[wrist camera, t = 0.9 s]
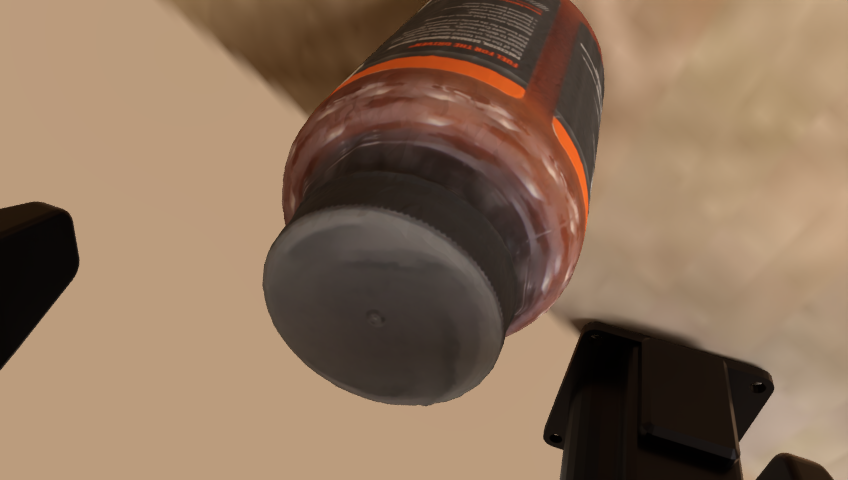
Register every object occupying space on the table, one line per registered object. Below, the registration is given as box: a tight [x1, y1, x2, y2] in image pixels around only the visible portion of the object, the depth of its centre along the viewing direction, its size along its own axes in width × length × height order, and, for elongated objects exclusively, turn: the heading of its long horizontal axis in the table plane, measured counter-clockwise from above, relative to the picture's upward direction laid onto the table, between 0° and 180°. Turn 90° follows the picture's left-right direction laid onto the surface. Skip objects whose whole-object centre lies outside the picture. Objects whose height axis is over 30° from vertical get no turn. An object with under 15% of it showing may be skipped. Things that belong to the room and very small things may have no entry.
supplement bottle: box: [263, 0, 604, 406], centre depth 14 cm, size 6×6×11 cm
